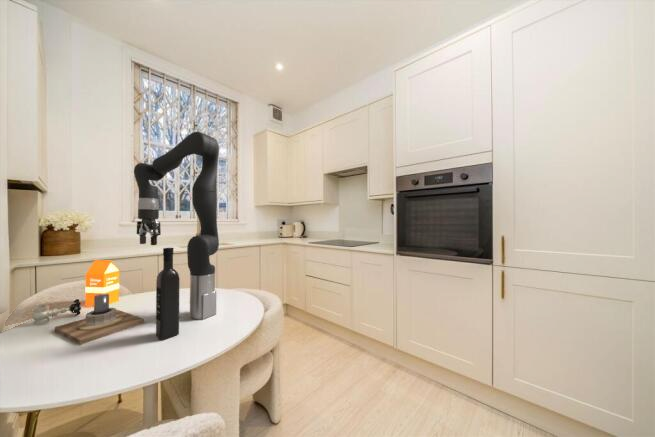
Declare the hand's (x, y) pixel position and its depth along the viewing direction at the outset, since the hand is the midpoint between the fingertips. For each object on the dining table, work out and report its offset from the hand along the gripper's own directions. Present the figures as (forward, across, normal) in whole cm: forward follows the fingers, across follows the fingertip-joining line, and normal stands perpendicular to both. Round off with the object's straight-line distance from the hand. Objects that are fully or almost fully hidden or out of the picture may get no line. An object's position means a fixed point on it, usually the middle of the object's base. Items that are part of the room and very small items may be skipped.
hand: (148, 244), depth 108 cm
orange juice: (+28, -23, -7) cm, 37 cm away
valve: (+28, -16, -24) cm, 40 cm away
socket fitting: (+28, +7, -19) cm, 35 cm away
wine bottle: (+28, +35, -12) cm, 47 cm away
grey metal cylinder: (+26, +7, -19) cm, 33 cm away
